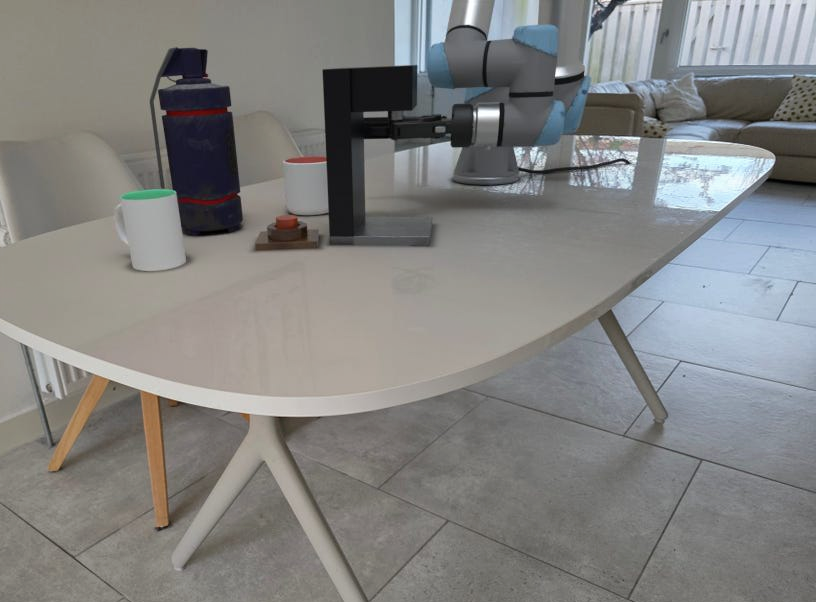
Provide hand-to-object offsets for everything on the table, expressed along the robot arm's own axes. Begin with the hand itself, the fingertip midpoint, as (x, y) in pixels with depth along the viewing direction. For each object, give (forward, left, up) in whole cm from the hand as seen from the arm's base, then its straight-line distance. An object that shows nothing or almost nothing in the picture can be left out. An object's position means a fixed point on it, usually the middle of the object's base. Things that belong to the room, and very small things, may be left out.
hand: (357, 127), depth 116 cm
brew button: (+13, +22, -13) cm, 29 cm away
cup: (+10, -2, -16) cm, 19 cm away
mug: (+34, +30, -16) cm, 48 cm away
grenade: (+29, +10, -16) cm, 34 cm away
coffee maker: (-3, +19, -16) cm, 25 cm away
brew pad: (+13, +22, -16) cm, 30 cm away
